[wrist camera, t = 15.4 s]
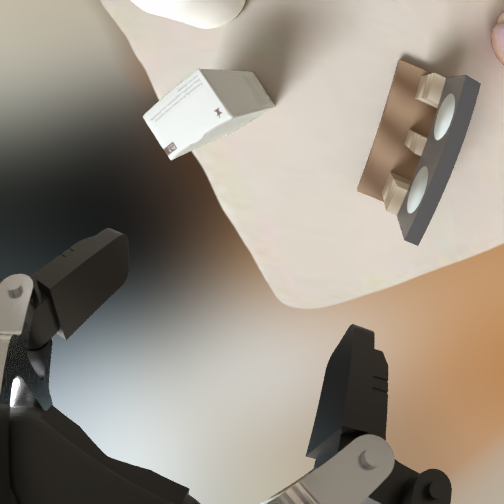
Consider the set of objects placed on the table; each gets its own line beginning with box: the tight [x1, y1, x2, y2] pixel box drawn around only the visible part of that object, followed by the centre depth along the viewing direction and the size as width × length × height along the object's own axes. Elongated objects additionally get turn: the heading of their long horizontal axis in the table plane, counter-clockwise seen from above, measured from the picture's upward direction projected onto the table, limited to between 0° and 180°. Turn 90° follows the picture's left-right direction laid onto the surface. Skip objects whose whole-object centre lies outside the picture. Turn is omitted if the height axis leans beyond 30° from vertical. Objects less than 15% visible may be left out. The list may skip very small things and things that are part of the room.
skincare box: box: [143, 69, 275, 160], centre depth 31 cm, size 8×6×15 cm
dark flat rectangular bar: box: [397, 75, 480, 246], centre depth 23 cm, size 16×2×6 cm, turn 167°
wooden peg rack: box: [358, 60, 446, 215], centre depth 29 cm, size 18×10×8 cm, turn 167°
